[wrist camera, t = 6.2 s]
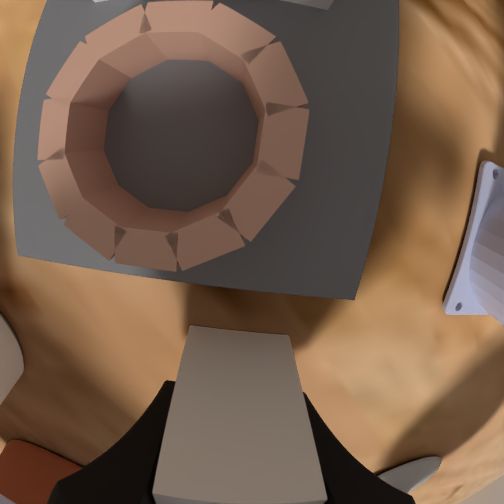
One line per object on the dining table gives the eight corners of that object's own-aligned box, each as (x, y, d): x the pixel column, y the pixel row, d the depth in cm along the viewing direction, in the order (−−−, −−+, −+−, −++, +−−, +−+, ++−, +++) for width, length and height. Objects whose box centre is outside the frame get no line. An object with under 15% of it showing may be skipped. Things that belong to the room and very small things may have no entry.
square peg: (288, 335, 13) (327, 499, 5) (271, 399, 14) (287, 536, 7) (189, 324, 12) (152, 493, 5) (188, 392, 14) (167, 530, 6)
